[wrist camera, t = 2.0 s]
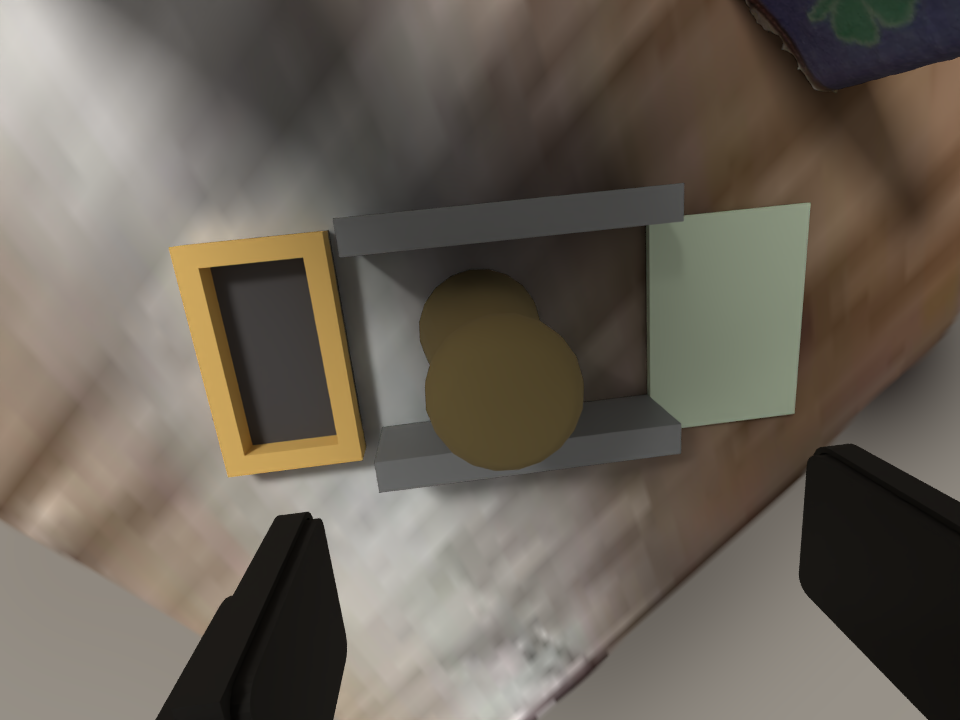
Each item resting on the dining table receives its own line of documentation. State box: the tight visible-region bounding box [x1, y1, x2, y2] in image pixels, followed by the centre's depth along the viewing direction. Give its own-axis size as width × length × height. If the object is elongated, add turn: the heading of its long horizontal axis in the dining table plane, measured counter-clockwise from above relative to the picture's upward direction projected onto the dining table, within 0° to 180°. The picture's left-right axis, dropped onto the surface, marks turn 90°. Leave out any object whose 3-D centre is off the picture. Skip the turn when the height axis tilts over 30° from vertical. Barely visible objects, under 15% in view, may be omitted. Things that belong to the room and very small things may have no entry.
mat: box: [646, 203, 811, 428], centre depth 27 cm, size 11×8×1 cm
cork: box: [419, 269, 584, 471], centre depth 21 cm, size 6×6×11 cm
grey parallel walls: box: [333, 183, 684, 493], centre depth 24 cm, size 12×14×4 cm
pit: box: [169, 230, 366, 477], centre depth 25 cm, size 11×6×2 cm, turn 6°
